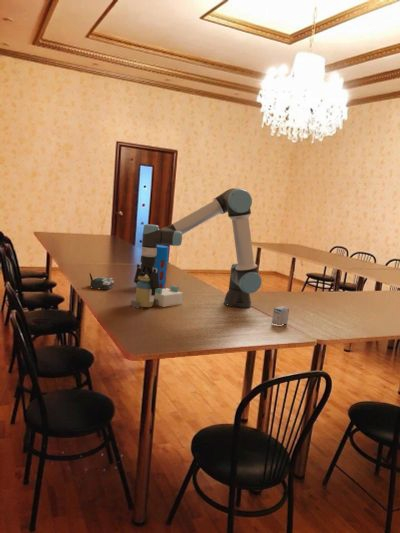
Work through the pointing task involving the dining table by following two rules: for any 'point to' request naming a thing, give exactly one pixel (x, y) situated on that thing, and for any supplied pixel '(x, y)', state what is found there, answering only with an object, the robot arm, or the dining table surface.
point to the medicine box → (280, 315)
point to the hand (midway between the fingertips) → (144, 299)
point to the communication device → (101, 282)
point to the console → (164, 297)
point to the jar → (143, 291)
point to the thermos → (161, 264)
